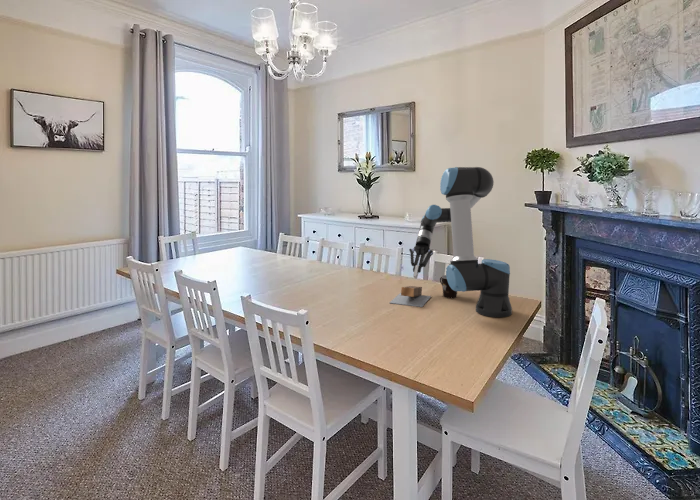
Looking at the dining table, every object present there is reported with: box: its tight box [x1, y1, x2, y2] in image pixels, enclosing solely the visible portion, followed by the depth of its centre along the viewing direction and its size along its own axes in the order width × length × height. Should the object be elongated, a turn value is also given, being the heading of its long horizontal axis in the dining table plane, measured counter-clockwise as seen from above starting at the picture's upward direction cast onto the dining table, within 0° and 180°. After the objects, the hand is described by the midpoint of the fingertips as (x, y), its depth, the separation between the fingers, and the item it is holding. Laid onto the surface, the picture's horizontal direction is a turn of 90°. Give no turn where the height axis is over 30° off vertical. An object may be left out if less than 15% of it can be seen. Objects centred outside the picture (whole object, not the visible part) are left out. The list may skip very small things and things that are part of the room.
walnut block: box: [400, 285, 423, 297], centre depth 200 cm, size 6×4×16 cm
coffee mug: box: [439, 274, 458, 299], centre depth 204 cm, size 12×9×10 cm
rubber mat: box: [389, 292, 432, 308], centre depth 199 cm, size 16×18×1 cm
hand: (415, 277), depth 206 cm, fingers closed
